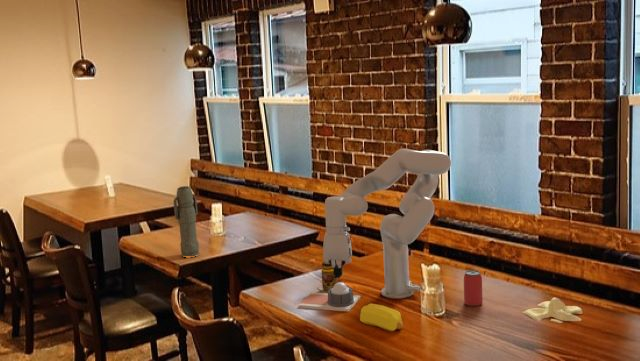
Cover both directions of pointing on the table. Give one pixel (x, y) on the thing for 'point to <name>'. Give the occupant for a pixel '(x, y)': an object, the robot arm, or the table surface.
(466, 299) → the beer can
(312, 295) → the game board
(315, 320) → the table surface
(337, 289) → the dome
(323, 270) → the condiment
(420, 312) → the table surface
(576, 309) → the cloth
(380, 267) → the table surface
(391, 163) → the robot arm
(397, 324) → the faceted yellow knobbed lump
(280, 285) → the table surface
